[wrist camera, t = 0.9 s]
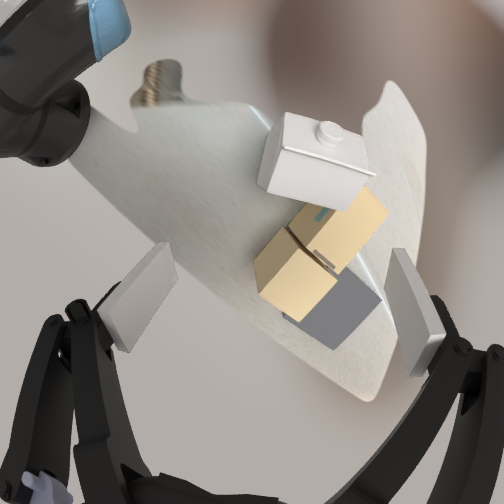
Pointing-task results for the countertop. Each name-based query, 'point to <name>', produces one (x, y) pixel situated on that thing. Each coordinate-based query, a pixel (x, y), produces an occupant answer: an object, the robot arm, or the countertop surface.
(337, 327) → the plate
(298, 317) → the tan rectangular block
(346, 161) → the milk carton
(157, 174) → the countertop surface
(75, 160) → the countertop surface
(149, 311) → the robot arm
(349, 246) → the cardboard shipping box
